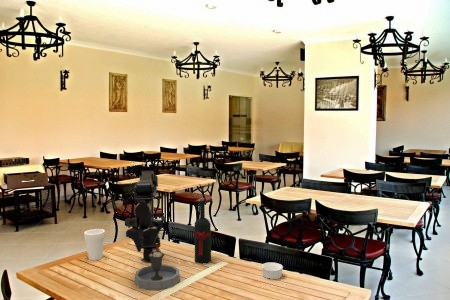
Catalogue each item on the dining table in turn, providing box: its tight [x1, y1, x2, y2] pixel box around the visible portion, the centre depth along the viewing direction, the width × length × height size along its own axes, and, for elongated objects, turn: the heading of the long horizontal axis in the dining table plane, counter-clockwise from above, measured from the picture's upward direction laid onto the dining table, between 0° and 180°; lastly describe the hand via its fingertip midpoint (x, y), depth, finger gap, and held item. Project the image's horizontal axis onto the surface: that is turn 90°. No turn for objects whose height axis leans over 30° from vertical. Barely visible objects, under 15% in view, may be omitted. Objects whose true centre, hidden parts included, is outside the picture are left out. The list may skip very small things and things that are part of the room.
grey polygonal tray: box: [134, 263, 181, 291], centre depth 160 cm, size 18×18×3 cm
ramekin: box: [261, 262, 284, 280], centre depth 164 cm, size 9×9×4 cm
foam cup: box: [83, 228, 106, 261], centre depth 187 cm, size 10×9×13 cm
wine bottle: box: [194, 197, 212, 265], centre depth 180 cm, size 8×10×30 cm
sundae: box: [148, 244, 165, 281], centre depth 159 cm, size 7×7×15 cm
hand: (145, 248), depth 162 cm, fingers open, 9 cm apart
